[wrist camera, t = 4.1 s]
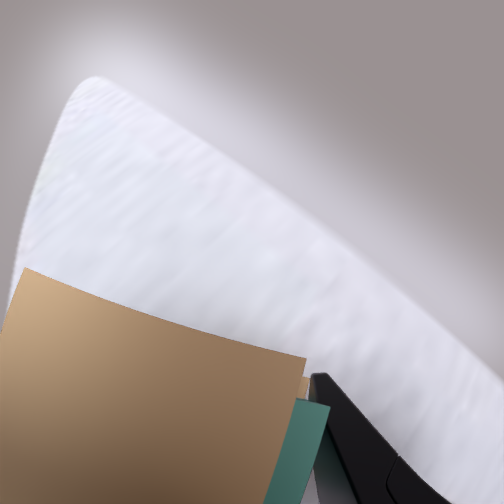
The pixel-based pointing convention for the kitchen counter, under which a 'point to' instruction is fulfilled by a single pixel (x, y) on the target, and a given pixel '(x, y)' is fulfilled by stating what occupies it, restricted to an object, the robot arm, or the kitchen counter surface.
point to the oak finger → (144, 408)
